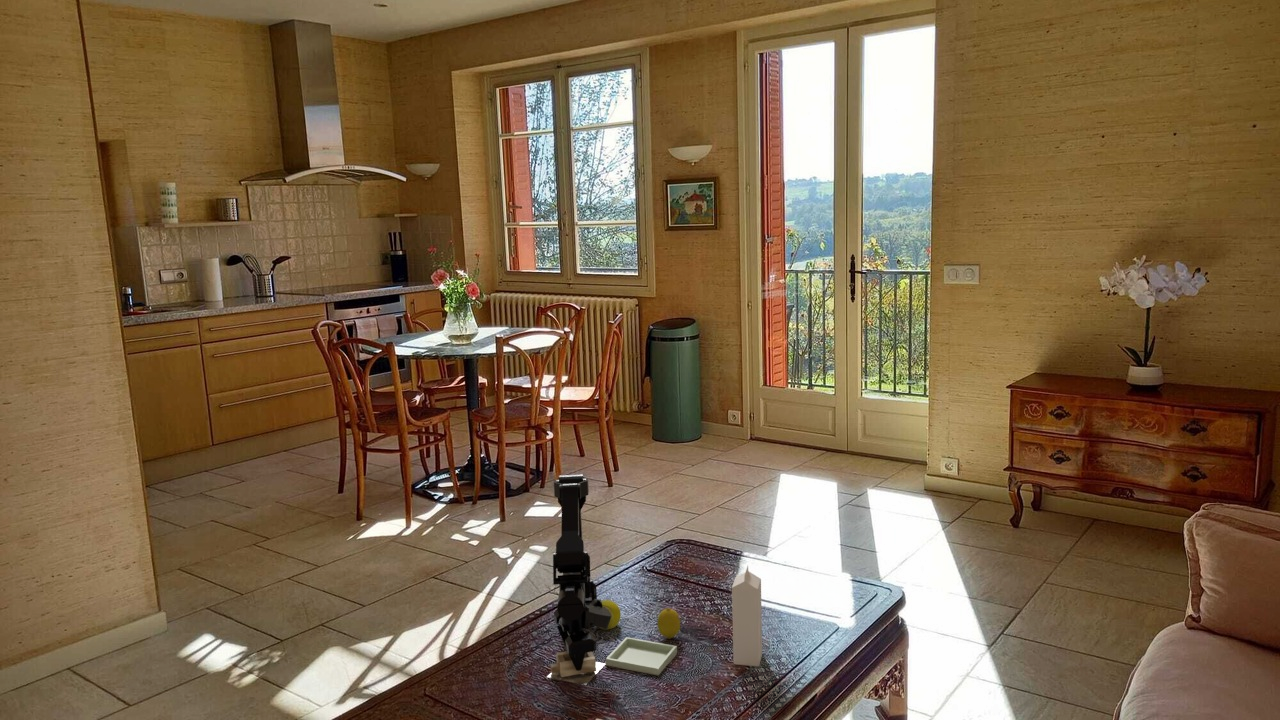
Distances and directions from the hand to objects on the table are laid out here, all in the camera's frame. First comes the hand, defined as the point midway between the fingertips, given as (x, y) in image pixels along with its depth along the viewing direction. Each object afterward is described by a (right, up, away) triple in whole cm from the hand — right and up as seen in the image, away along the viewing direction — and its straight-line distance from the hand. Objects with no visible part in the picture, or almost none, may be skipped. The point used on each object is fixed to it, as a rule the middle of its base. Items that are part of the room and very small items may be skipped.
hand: (576, 663), depth 208 cm
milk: (+40, 0, +3) cm, 40 cm away
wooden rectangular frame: (0, -1, 0) cm, 1 cm away
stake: (0, -2, 0) cm, 2 cm away
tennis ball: (+6, +2, +21) cm, 22 cm away
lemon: (+22, +1, +14) cm, 26 cm away
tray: (+15, -1, +4) cm, 16 cm away
